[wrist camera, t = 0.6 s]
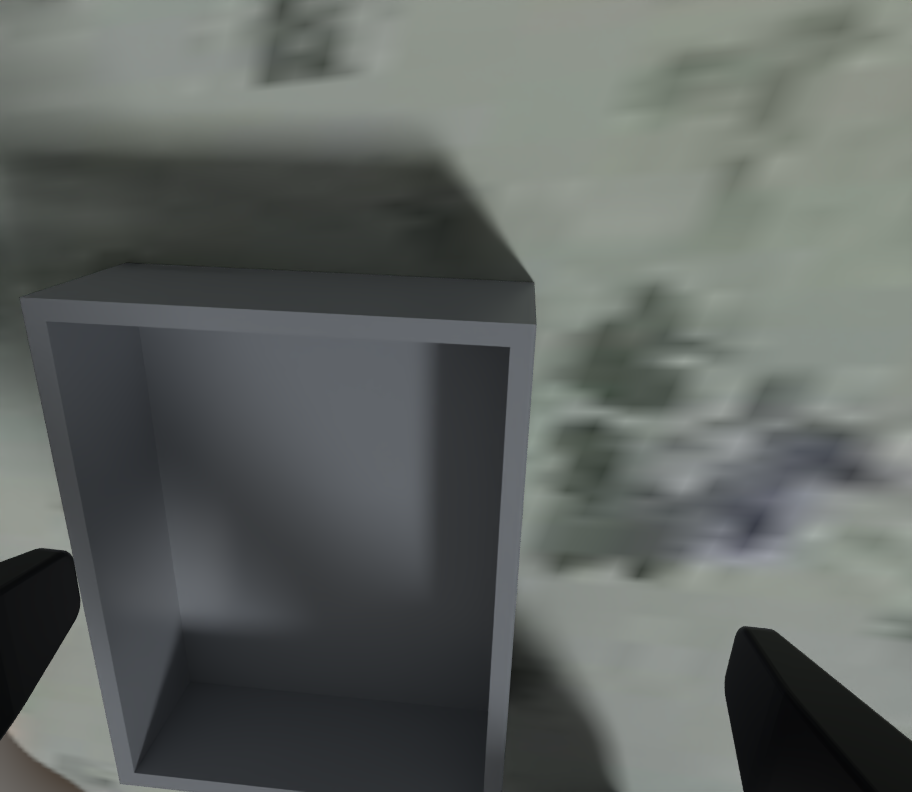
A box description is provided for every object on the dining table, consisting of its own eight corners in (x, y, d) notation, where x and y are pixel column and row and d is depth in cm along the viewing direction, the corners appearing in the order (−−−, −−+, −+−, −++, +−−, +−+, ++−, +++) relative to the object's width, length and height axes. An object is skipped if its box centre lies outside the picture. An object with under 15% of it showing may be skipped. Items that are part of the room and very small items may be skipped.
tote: (504, 708, 27) (499, 825, 23) (186, 677, 28) (120, 783, 24) (534, 282, 21) (536, 324, 16) (126, 262, 22) (19, 297, 17)
